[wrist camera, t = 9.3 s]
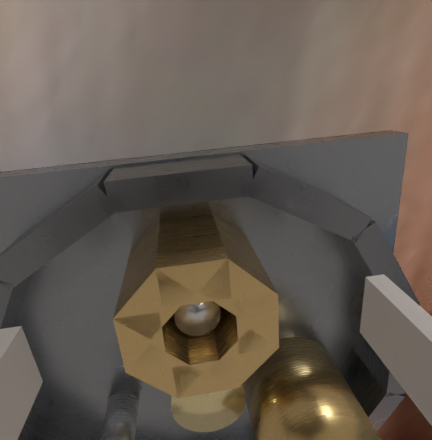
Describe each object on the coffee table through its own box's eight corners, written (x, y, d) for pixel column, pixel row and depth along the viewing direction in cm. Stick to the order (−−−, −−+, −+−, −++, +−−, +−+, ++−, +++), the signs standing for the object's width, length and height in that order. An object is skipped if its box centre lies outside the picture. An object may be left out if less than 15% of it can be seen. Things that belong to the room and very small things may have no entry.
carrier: (-66, 179, 17) (-230, 237, 10) (390, 130, 19) (516, 150, 12) (59, 486, 26) (19, 629, 19) (359, 428, 28) (421, 537, 21)
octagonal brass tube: (124, 218, 17) (102, 275, 12) (244, 203, 18) (277, 252, 12) (143, 318, 20) (133, 406, 14) (249, 303, 20) (279, 381, 15)
